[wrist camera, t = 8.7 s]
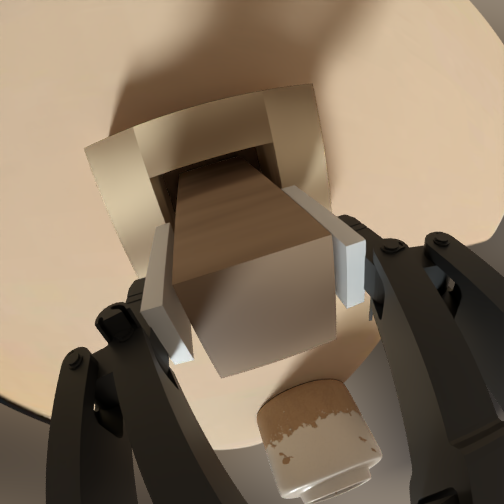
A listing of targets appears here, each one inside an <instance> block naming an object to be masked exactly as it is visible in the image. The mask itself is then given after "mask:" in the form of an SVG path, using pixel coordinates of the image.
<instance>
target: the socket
mask: <svg viewBox="0 0 504 504" xmlns="http://www.w3.org/2000/svg"><path fill="white" fill-rule="evenodd" d="M251 147H256V151H257V156H258V160H259V165H260V169H261V173H262V174H263V175H264V176H265V177H267V178H268V179H269V180H270V181H271V182H273V183H274V184H275V185H276V186H277V187H279V188H280V189H282V188H286V187H290V186H294V185H295V186H296V187H298V188H299V189H300V190H302V191H303V192H305V193H306V194H307V195H309V196H310V197H311V198H313V199H314V200H315V201H317V202H318V203H320V204H321V205H322V206H324V207H325V208H326V209H327V210H329V211H330V212H331V213H332V208H331V199H330V190H329V181H328V173H327V165H326V158H325V151H324V145H323V138H322V132H321V126H320V120H319V115H318V109H317V104H316V99H315V94H314V89H313V84H303V85H295V86H288V87H281V88H275V89H269V90H263V91H257V92H252V93H247V94H242V95H238V96H233V97H229V98H224V99H220V100H216V101H212V102H208V103H205V104H201V105H197V106H194V107H190V108H187V109H184V110H180V111H177V112H174V113H171V114H168V115H165V116H162V117H159V118H156V119H153V120H150V121H147V122H145V123H142V124H139V125H137V126H134V127H132V128H129V129H126V130H124V131H122V132H119V133H117V134H114V135H112V136H110V137H107V138H105V139H103V140H101V141H98V142H96V143H94V144H92V145H90V146H88V147H86V148H84V150H85V153H86V156H87V159H88V162H89V165H90V168H91V171H92V173H93V176H94V179H95V182H96V184H97V187H98V189H99V192H100V195H101V197H102V200H103V202H104V205H105V207H106V209H107V212H108V214H109V217H110V219H111V221H112V224H113V226H114V228H115V230H116V233H117V235H118V237H119V239H120V242H121V244H122V246H123V248H124V250H125V252H126V254H127V256H128V258H129V260H130V263H131V265H132V267H133V269H134V271H135V273H136V275H137V276H138V278H139V279H141V278H144V277H146V274H147V268H148V263H149V258H150V253H151V248H152V243H153V239H154V234H155V230H156V227H157V226H160V225H163V224H166V223H169V222H170V224H171V227H172V229H173V232H174V231H175V217H176V214H175V211H174V208H173V205H172V203H171V200H170V197H169V194H168V191H167V188H166V185H165V182H164V179H163V176H162V174H163V173H166V172H169V171H172V170H175V169H178V168H181V167H184V166H187V165H190V164H193V163H197V162H200V161H203V160H207V159H210V158H213V157H217V156H220V155H224V154H228V153H231V152H235V151H239V150H243V149H247V148H251Z"/></svg>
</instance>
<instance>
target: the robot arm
mask: <svg viewBox="0 0 504 504" xmlns="http://www.w3.org/2000/svg"><path fill="white" fill-rule="evenodd" d="M281 190H282V191H283V192H284V193H286V194H287V195H288V196H289V197H290V198H291V199H293V200H294V201H295V202H296V203H297V204H298V205H300V206H301V207H302V208H303V209H304V210H305V211H306V212H308V213H309V214H310V215H311V216H312V217H313V218H314V219H315V220H317V221H318V222H319V223H320V224H321V225H322V226H323V227H324V228H325V229H327V230H328V231H329V232H330V233H331V234H332V241H333V255H334V272H335V293H336V295H337V296H338V297H339V299H340V300H341V301H342V303H343V304H344V305H345V307H346V308H347V309H348V308H350V307H352V306H355V305H357V304H360V303H362V302H364V294H365V290H366V292H367V293H368V294H369V295H370V296H371V300H370V311H369V321H370V320H372V315H374V318H375V321H376V324H377V327H378V330H379V333H380V336H381V339H382V342H383V346H384V349H385V352H386V355H387V359H388V362H389V366H390V369H391V373H392V377H393V380H394V384H395V388H396V392H397V395H398V400H399V404H400V408H401V412H402V417H403V421H404V426H405V431H406V435H407V440H408V446H409V452H410V457H411V463H412V476H411V480H410V501H411V504H504V421H501V420H500V419H499V418H498V416H497V414H496V411H495V409H494V406H493V403H492V400H491V398H490V395H489V393H488V390H487V387H488V388H489V390H490V391H491V393H492V394H493V396H494V397H495V399H496V400H497V402H498V403H499V405H500V406H501V408H502V410H503V411H504V277H503V276H502V275H500V274H499V273H498V272H497V271H496V270H495V269H493V268H492V267H491V266H490V265H488V264H487V263H486V262H485V261H484V260H483V259H481V258H480V257H479V256H478V255H476V254H475V253H474V252H472V251H471V250H470V249H468V248H467V247H466V246H465V245H463V244H462V243H461V242H459V241H458V240H456V239H455V238H454V237H452V236H450V235H449V234H446V233H443V232H433V233H430V234H428V235H427V236H426V238H425V244H424V246H418V247H410V248H409V247H408V245H407V244H405V243H404V242H403V241H400V240H398V239H392V238H389V239H382V238H381V237H380V236H379V235H377V234H376V233H375V232H373V231H372V230H371V229H369V228H367V226H365V225H364V224H361V222H360V221H358V220H357V219H356V218H354V217H351V216H348V215H341V216H338V217H337V216H335V215H334V214H333V213H331V212H330V211H329V210H327V209H326V208H325V207H324V206H322V205H321V204H320V203H318V202H317V201H315V200H314V199H313V198H311V197H310V196H309V195H307V194H306V193H305V192H303V191H302V190H300V189H299V188H298V187H296V186H295V185H294V186H290V187H286V188H282V189H281ZM173 247H174V232H173V229H172V227H171V224H170V222H169V223H166V224H163V225H160V226H157V227H156V230H155V234H154V239H153V243H152V248H151V253H150V258H149V263H148V268H147V274H146V277H144V278H141V279H138V280H135V281H134V282H133V284H132V285H131V287H130V288H129V291H128V295H127V300H126V303H124V302H119V303H115V304H112V305H110V306H108V307H107V308H105V309H104V310H103V311H102V312H101V313H100V314H99V315H98V317H97V318H96V321H95V326H96V327H97V329H98V330H99V332H100V333H101V334H102V336H103V337H104V338H105V340H106V341H107V342H108V346H106V347H105V348H103V349H101V350H99V351H97V352H95V353H93V354H91V352H90V351H89V350H88V349H87V348H85V347H78V348H76V349H74V350H72V351H71V352H69V353H68V354H67V356H66V357H65V358H64V360H63V363H62V366H61V370H60V374H59V379H58V383H57V388H56V393H55V398H54V404H53V410H52V416H51V423H50V431H49V440H48V451H47V464H46V504H138V501H137V494H136V486H135V479H134V470H133V458H132V449H133V452H134V455H135V458H136V461H137V464H138V467H139V470H140V472H141V475H142V477H143V480H144V483H145V485H146V488H147V490H148V492H149V494H150V497H151V499H152V502H153V504H248V503H247V502H246V500H245V499H244V498H243V496H242V495H241V493H240V492H239V490H238V489H237V487H236V486H235V484H234V483H233V481H232V480H231V478H230V477H229V475H228V473H227V472H226V470H225V469H224V467H223V465H222V464H221V462H220V460H219V459H218V457H217V456H216V454H215V452H214V450H213V449H212V447H211V445H210V443H209V442H208V440H207V438H206V436H205V434H204V433H203V431H202V429H201V427H200V425H199V423H198V421H197V420H196V418H195V416H194V414H193V412H192V410H191V408H190V406H189V404H188V402H187V400H186V398H185V396H184V394H183V391H182V389H181V387H180V385H179V383H178V381H177V379H176V376H175V374H174V372H173V371H172V370H171V368H170V367H169V357H170V359H171V360H172V361H173V363H174V364H179V363H184V362H187V361H191V360H194V356H193V345H192V334H191V323H190V321H189V319H188V317H187V315H186V313H185V311H184V309H183V307H182V305H181V303H180V301H179V299H178V297H177V294H176V292H175V290H174V288H173V286H172V268H173ZM450 278H451V279H452V280H453V281H454V282H455V286H454V288H453V289H451V288H450V287H449V286H448V284H449V280H450ZM485 384H486V385H485ZM486 386H487V387H486ZM94 404H95V410H94Z"/></svg>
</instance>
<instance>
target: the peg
mask: <svg viewBox="0 0 504 504" xmlns="http://www.w3.org/2000/svg"><path fill="white" fill-rule="evenodd" d="M172 286H173V288H174V290H175V292H176V294H177V297H178V299H179V301H180V303H181V305H182V307H183V309H184V311H185V313H186V315H187V317H188V319H189V321H190V323H191V325H192V326H193V328H194V330H195V332H196V334H197V336H198V338H199V340H200V342H201V343H202V345H203V347H204V349H205V351H206V353H207V354H208V356H209V358H210V360H211V362H212V363H213V365H214V367H215V369H216V370H217V372H218V374H219V376H220V377H221V378H225V377H228V376H232V375H235V374H239V373H242V372H245V371H249V370H252V369H255V368H258V367H262V366H265V365H268V364H271V363H274V362H277V361H280V360H283V359H286V358H288V357H291V356H294V355H297V354H300V353H302V352H305V351H308V350H310V349H313V348H315V347H318V346H321V345H323V344H326V343H328V342H331V341H333V340H335V339H336V295H335V272H334V255H333V241H332V234H331V233H330V232H329V231H328V230H327V229H325V228H324V227H323V226H322V225H321V224H320V223H319V222H318V221H317V220H315V219H314V218H313V217H312V216H311V215H310V214H309V213H308V212H306V211H305V210H304V209H303V208H302V207H301V206H300V205H298V204H297V203H296V202H295V201H294V200H293V199H291V198H290V197H289V196H288V195H287V194H286V193H284V192H283V191H282V190H281V189H280V188H279V187H277V186H276V185H275V184H274V183H273V182H271V181H270V180H269V179H268V178H267V177H265V176H264V175H263V174H262V173H260V172H259V171H258V170H257V169H256V168H254V167H253V166H252V165H251V164H249V163H248V162H247V161H246V160H244V159H243V158H242V157H240V156H237V157H234V158H230V159H226V160H223V161H219V162H216V163H212V164H209V165H206V166H202V167H199V168H196V169H193V170H189V171H186V172H183V173H180V175H179V184H178V194H177V205H176V217H175V231H174V247H173V268H172Z"/></svg>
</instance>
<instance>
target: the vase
mask: <svg viewBox="0 0 504 504" xmlns="http://www.w3.org/2000/svg"><path fill="white" fill-rule="evenodd" d="M257 423H258V427H259V431H260V434H261V437H262V441H263V444H264V447H265V450H266V453H267V457H268V460H269V463H270V466H271V470H272V473H273V476H274V479H275V482H276V485H277V488H278V491H279V493H280V495H281V497H283V498H288V499H289V498H297V497H301V498H302V500H303V502H304V504H314V503H318V502H321V501H324V500H327V499H330V498H333V497H335V496H338V495H340V494H343V493H345V492H348V491H350V490H352V489H354V488H356V487H358V486H360V485H362V484H364V483H365V482H367V481H369V480H370V479H371V478H372V476H371V474H370V471H369V469H370V468H371V467H373V466H374V465H376V464H377V463H378V462H379V461H380V460H381V459H382V452H381V450H380V448H379V446H378V444H377V442H376V440H375V438H374V437H373V435H372V433H371V431H370V429H369V427H368V426H367V424H366V422H365V420H364V418H363V416H362V414H361V413H360V411H359V409H358V407H357V405H356V404H355V402H354V400H353V398H352V396H351V395H350V393H349V391H348V389H347V388H346V386H345V385H344V384H343V383H342V382H340V381H338V380H333V379H324V380H317V381H312V382H308V383H305V384H302V385H299V386H296V387H294V388H291V389H289V390H287V391H285V392H283V393H281V394H279V395H277V396H276V397H274V398H273V399H271V400H270V401H268V402H267V403H266V404H265V405H264V406H263V407H262V408H261V409H260V411H259V412H258V415H257Z"/></svg>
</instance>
